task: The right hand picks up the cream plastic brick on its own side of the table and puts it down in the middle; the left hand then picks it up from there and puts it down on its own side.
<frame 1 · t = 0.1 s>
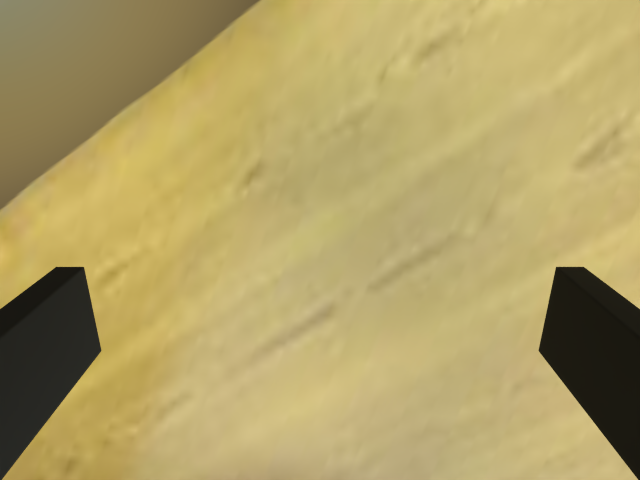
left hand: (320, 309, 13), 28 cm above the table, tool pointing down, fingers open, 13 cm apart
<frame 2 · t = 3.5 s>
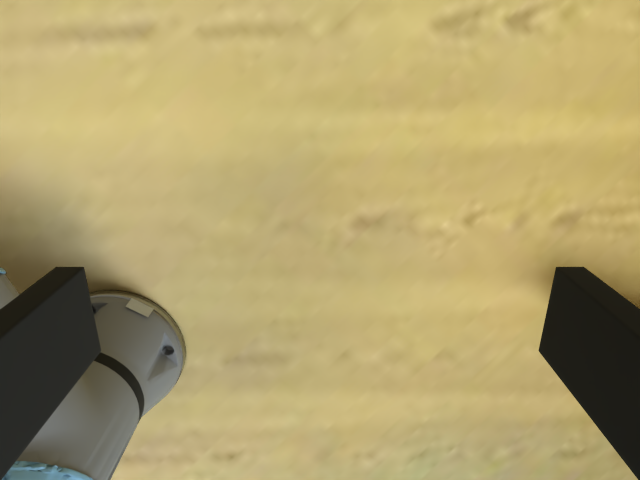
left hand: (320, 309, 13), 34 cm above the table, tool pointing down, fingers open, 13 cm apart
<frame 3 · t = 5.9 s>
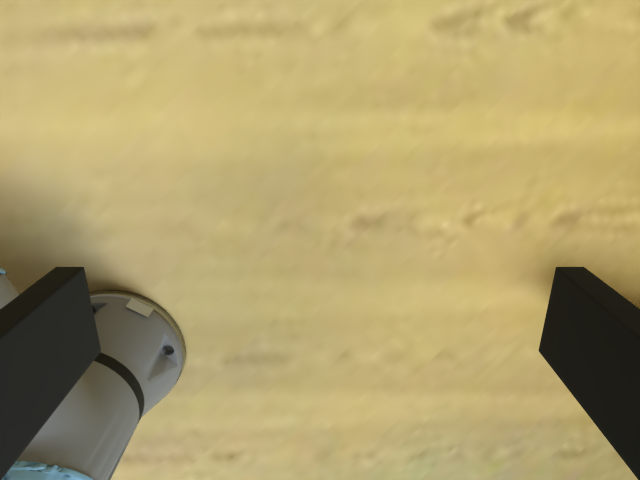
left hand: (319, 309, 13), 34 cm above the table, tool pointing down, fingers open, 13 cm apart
when the right hand's fingers open (4 cm above the table, at t = 8.5 s): brick drops 2 cm, on the table.
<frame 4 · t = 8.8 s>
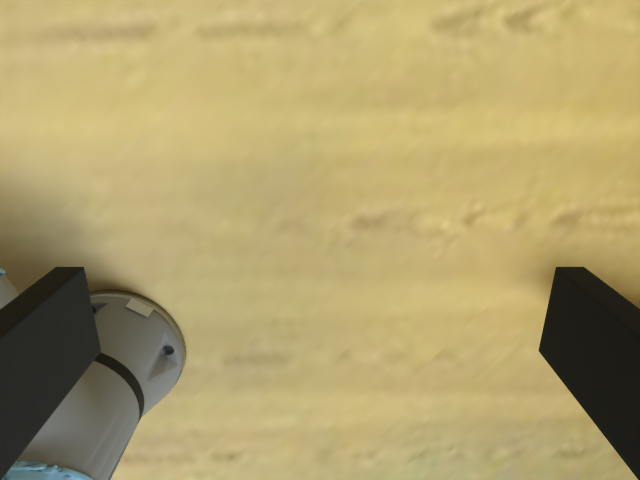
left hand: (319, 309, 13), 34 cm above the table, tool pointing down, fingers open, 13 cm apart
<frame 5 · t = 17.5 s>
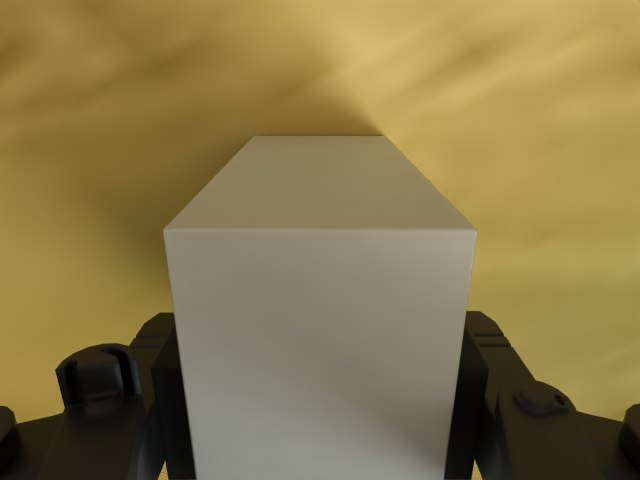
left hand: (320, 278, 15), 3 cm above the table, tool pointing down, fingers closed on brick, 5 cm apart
brick: (319, 248, 17), on the table, touching left hand
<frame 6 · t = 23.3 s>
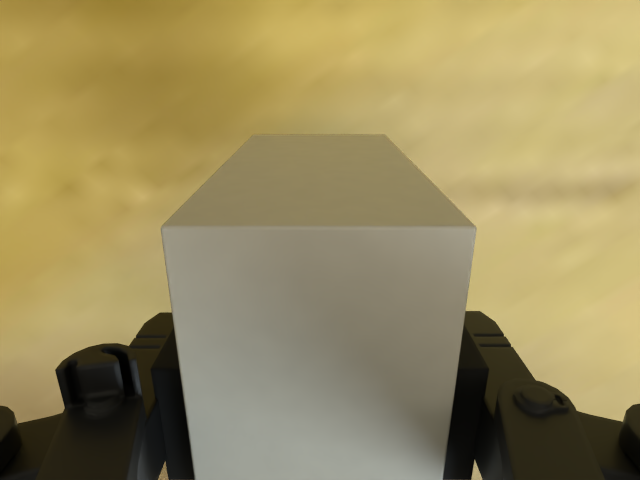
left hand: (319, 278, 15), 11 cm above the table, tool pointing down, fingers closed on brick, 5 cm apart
brick: (319, 248, 17), point 8 cm above the table, touching left hand
when the left hand's fingers open (4 cm above the table, at t = 29.1 s): brick drops 2 cm, on the table.
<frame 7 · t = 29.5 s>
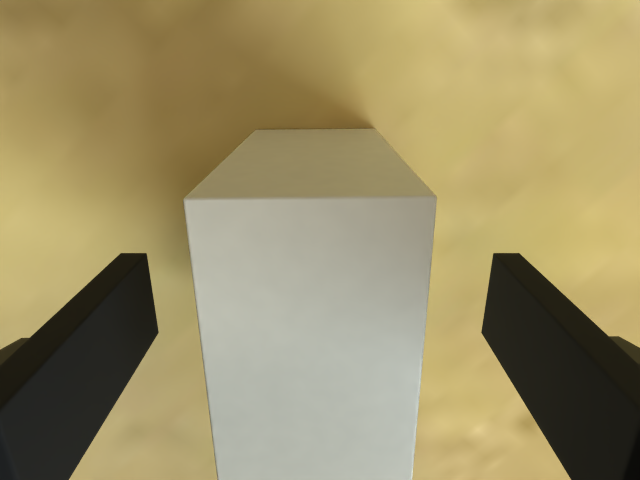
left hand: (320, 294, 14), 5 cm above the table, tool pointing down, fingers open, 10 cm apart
brick: (316, 233, 19), on the table
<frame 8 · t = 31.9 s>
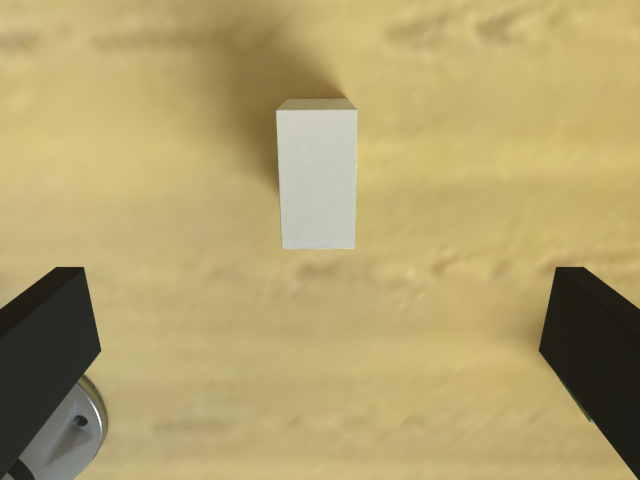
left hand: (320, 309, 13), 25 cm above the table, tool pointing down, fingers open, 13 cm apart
brick: (318, 154, 36), on the table
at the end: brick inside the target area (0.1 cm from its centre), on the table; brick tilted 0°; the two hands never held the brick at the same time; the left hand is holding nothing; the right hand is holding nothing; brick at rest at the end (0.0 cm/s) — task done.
